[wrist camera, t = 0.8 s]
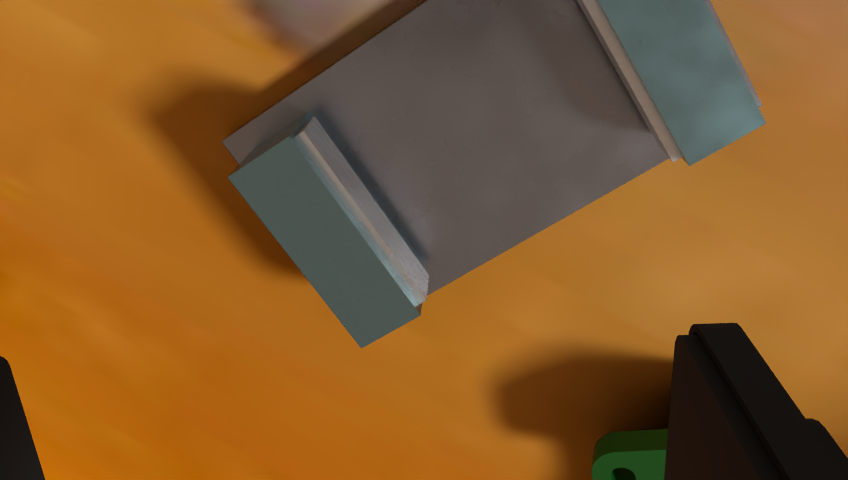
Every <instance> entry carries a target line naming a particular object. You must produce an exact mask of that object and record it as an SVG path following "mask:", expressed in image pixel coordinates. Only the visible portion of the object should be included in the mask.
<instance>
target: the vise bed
mask: <svg viewBox="0 0 848 480" xmlns="http://www.w3.org/2000/svg"><path fill="white" fill-rule="evenodd" d="M704 1H705V3H706V5H707V7H708V9H709V11H710V13H711V15H712V17H713V19H714V21H715V23H716V25H717V27H718V29H719V31H720V33H721V35H722V37H723V39H724V41H725V42H726V44H727V46H728V48H729V50H730V52H731V54H732V56H733V58H734V60H735V62H736V64H737V66H738V68H739V70H740V72H741V74H742V76H743V78H744V80H745V82H746V84H747V86H748V88H749V90H750V92H751V94H752V96H753V98H754V100H755V102H756V104H757V106H758V108H759V107H760V106H762V104H761V102H760V100H759V98H758V96H757V94H756V92H755V90H754V88H753V86H752V84H751V82H750V80H749V78H748V76H747V74H746V72H745V70H744V68H743V66H742V64H741V62H740V60H739V58H738V56H737V54H736V52H735V50H734V48H733V46H732V44H731V42H730V40H729V38H728V36H727V34H726V32H725V30H724V28H723V26H722V24H721V22H720V20H719V18H718V16H717V14H716V12H715V10H714V8H713V6H712V4H711V2H710V0H704ZM222 143H223V144H224V145H225V147H226V148H227V149H228V151H229V152H230V153H231V154H232V156H233V157H234V158H235V160H236V161H237V162H238V164H239V165H238V166H237V167H236V168H235V170H234V171H233V172H232V173H231V174H230V175H229V176H228V179H229V180H230V181H231V182H232V184H233V185H234V186H235V188H236V189H237V190H238V191H239V193H240V194H241V195H242V196H243V198H244V199H245V200H246V202H247V203H248V204H249V205H250V207H251V208H252V209H253V211H254V212H255V213H256V214H257V216H258V217H259V218H260V219H261V221H262V222H263V223H264V225H265V226H266V227H267V228H268V230H269V231H270V232H271V234H272V235H273V236H274V237H275V239H276V240H277V241H278V243H279V244H280V245H281V246H282V248H283V249H284V250H285V251H286V253H287V254H288V255H289V257H290V258H291V259H292V260H293V262H294V263H295V264H296V266H297V267H298V268H299V269H300V271H301V272H302V273H303V274H304V276H305V277H306V278H307V280H308V281H309V282H310V283H311V285H312V286H313V287H314V289H315V290H316V291H317V292H318V294H319V295H320V296H321V297H322V299H323V300H324V301H325V303H326V304H327V305H328V306H329V308H330V309H331V310H332V312H333V313H334V314H335V315H336V317H337V318H338V319H339V320H340V322H341V323H342V324H343V326H344V327H345V328H346V329H347V331H348V332H349V333H350V335H351V336H352V337H353V338H354V340H355V341H356V342H357V344H358V345H359V346H360V347H361V348H363V347H365V346H367V345H368V344H370V343H372V342H374V341H376V340H377V339H379V338H381V337H383V336H384V335H386V334H388V333H390V332H392V331H393V330H395V329H397V328H399V327H401V326H402V325H404V324H406V323H408V322H409V321H411V320H413V319H415V318H417V317H418V316H420V315H421V306H422V303H423V302H424V301H426V300H427V295H429V294H431V293H433V292H434V291H436V290H438V289H440V288H441V287H443V286H445V285H447V284H448V283H450V282H452V281H454V280H455V279H457V278H459V277H461V276H462V275H464V274H466V273H468V272H470V271H471V270H473V269H475V268H477V267H478V266H480V265H482V264H484V263H485V262H487V261H489V260H491V259H492V258H494V257H496V256H498V255H499V254H501V253H503V252H505V251H507V250H508V249H510V248H512V247H514V246H515V245H517V244H519V243H521V242H522V241H524V240H526V239H528V238H529V237H531V236H533V235H535V234H536V233H538V232H540V231H542V230H544V229H545V228H547V227H549V226H551V225H552V224H554V223H556V222H558V221H559V220H561V219H563V218H565V217H566V216H568V215H570V214H572V213H573V212H575V211H577V210H579V209H581V208H582V207H584V206H586V205H588V204H589V203H591V202H593V201H595V200H596V199H598V198H600V197H602V196H603V195H605V194H607V193H609V192H611V191H612V190H614V189H616V188H618V187H619V186H621V185H623V184H625V183H626V182H628V181H630V180H632V179H633V178H635V177H637V176H639V175H640V174H642V173H644V172H646V171H648V170H649V169H651V168H653V167H655V166H656V165H658V164H660V163H662V162H663V161H665V160H667V159H669V157H668V156H667V155H666V154H665V152H664V151H663V150H662V149H661V148H660V147H659V145H658V144H657V142H656V140H655V139H654V137H653V135H652V133H651V132H650V130H649V128H648V126H647V124H646V123H645V121H644V119H643V117H642V115H641V114H640V112H639V110H638V108H637V107H636V105H635V103H634V101H633V99H632V98H631V96H630V94H629V92H628V91H627V89H626V87H625V85H624V83H623V82H622V80H621V78H620V76H619V74H618V73H617V71H616V69H615V67H614V66H613V64H612V62H611V60H610V58H609V57H608V55H607V53H606V51H605V50H604V48H603V46H602V44H601V42H600V41H599V39H598V37H597V35H596V33H595V32H594V30H593V28H592V26H591V25H590V23H589V21H588V19H587V17H586V16H585V14H584V12H583V10H582V9H581V7H580V5H579V3H578V1H577V0H425V1H424V2H423V3H421V4H420V5H418V6H417V7H415V8H414V9H412V10H411V11H409V12H408V13H406V14H405V15H404V16H402V17H401V18H399V19H398V20H396V21H395V22H393V23H392V24H390V25H389V26H387V27H386V28H385V29H383V30H382V31H380V32H379V33H377V34H376V35H374V36H373V37H371V38H370V39H368V40H367V41H366V42H364V43H363V44H361V45H360V46H358V47H357V48H355V49H354V50H352V51H351V52H350V53H348V54H347V55H345V56H344V57H342V58H341V59H339V60H338V61H336V62H335V63H333V64H332V65H331V66H329V67H328V68H326V69H325V70H323V71H322V72H320V73H319V74H317V75H316V76H314V77H313V78H312V79H310V80H309V81H307V82H306V83H304V84H303V85H301V86H300V87H298V88H297V89H295V90H294V91H293V92H291V93H290V94H288V95H287V96H285V97H284V98H282V99H281V100H279V101H278V102H277V103H275V104H274V105H272V106H271V107H269V108H268V109H266V110H265V111H263V112H262V113H260V114H259V115H258V116H256V117H255V118H253V119H252V120H250V121H249V122H247V123H246V124H244V125H243V126H241V127H240V128H239V129H237V130H236V131H234V132H233V133H231V134H230V135H228V136H227V137H226V138H225V139H224V140H223V141H222Z"/></svg>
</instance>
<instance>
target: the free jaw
mask: <svg viewBox="0 0 848 480" xmlns="http://www.w3.org/2000/svg"><path fill="white" fill-rule="evenodd" d="M577 1H578V3H579V5H580V7H581V9H582V10H583V12H584V14H585V16H586V17H587V19H588V21H589V23H590V25H591V26H592V28H593V30H594V32H595V33H596V35H597V37H598V39H599V41H600V42H601V44H602V46H603V48H604V50H605V51H606V53H607V55H608V57H609V58H610V60H611V62H612V64H613V66H614V67H615V69H616V71H617V73H618V74H619V76H620V78H621V80H622V82H623V83H624V85H625V87H626V89H627V91H628V92H629V94H630V96H631V98H632V99H633V101H634V103H635V105H636V107H637V108H638V110H639V112H640V114H641V115H642V117H643V119H644V121H645V123H646V124H647V126H648V128H649V130H650V132H651V133H652V135H653V137H654V139H655V140H656V142H657V144H658V145H659V147H660V148H661V149H662V150H663V151H664V152H665V154H666V155H667V156H668V157H669V158H670V159H671V161H672V162H674V161H676V160H678V159H679V158H681V157H682V158H683V159H684V161H685V162H686V163H687V164H688V165H689V166H691V165H693V164H694V163H696V162H698V161H700V160H701V159H703V158H705V157H707V156H709V155H710V154H712V153H714V152H716V151H717V150H719V149H721V148H723V147H725V146H726V145H728V144H730V143H732V142H734V141H735V140H737V139H739V138H741V137H742V136H744V135H746V134H748V133H750V132H751V131H753V130H755V129H757V128H759V127H760V126H762V125H764V124H766V122H765V120H764V118H763V116H762V114H761V112H760V110H759V108H758V106H757V104H756V102H755V100H754V98H753V96H752V94H751V92H750V90H749V88H748V86H747V84H746V82H745V80H744V78H743V76H742V74H741V72H740V70H739V68H738V66H737V64H736V62H735V60H734V58H733V56H732V54H731V52H730V50H729V48H728V46H727V44H726V42H725V41H724V39H723V37H722V35H721V33H720V31H719V29H718V27H717V25H716V23H715V21H714V19H713V17H712V15H711V13H710V11H709V9H708V7H707V5H706V3H705V1H704V0H577Z"/></svg>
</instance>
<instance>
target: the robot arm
mask: <svg viewBox="0 0 848 480" xmlns="http://www.w3.org/2000/svg"><path fill="white" fill-rule="evenodd" d="M0 480H45V477H44V474H43V471H42V468H41V465H40V461H39V458H38V455H37V452H36V448H35V445H34V442H33V439H32V436H31V432H30V429H29V426H28V423H27V419H26V416H25V413H24V410H23V407H22V403H21V400H20V397H19V394H18V390H17V387H16V384H15V381H14V377H13V374H12V371H11V368H10V365H9V363H8V361H7V360H6V359H5V358H4V357H1V356H0ZM664 480H848V458H847V457H846V456H845V454H844V453H843V452H842V450H841V449H840V447H839V446H838V445H837V443H836V442H835V441H834V439H833V438H832V437H831V435H830V434H829V432H828V431H827V430H826V428H825V427H824V426H823V425H822V424H821V423H820V422H819V421H817V420H814V419H805V417H804V416H803V415H802V413H801V412H800V410H799V409H798V407H797V406H796V405H795V403H794V402H793V400H792V399H791V398H790V396H789V395H788V393H787V392H786V390H785V389H784V388H783V386H782V385H781V383H780V382H779V381H778V379H777V378H776V376H775V375H774V373H773V372H772V371H771V369H770V368H769V366H768V365H767V363H766V362H765V361H764V359H763V358H762V356H761V355H760V354H759V352H758V351H757V349H756V348H755V346H754V345H753V344H752V342H751V341H750V339H749V338H748V337H747V335H746V334H745V332H744V331H743V329H742V328H741V327H740V326H739V325H738V324H737V323H716V324H693V325H692V326H691V328H690V331H689V335H678V336H677V338H676V341H675V349H674V361H673V373H672V386H671V398H670V411H669V423H668V436H667V448H666V460H665V473H664Z"/></svg>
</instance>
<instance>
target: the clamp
mask: <svg viewBox="0 0 848 480" xmlns="http://www.w3.org/2000/svg"><path fill="white" fill-rule="evenodd" d="M667 436H668V429H656V430H639V431H621V432H613V433H609V434H607V435H605V436H603V437H602V438H600V439H599V440H598V442H597V443H596V445H595V448H594V456H593V464H592V478H593V480H664V473H665V460H666V448H667Z"/></svg>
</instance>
